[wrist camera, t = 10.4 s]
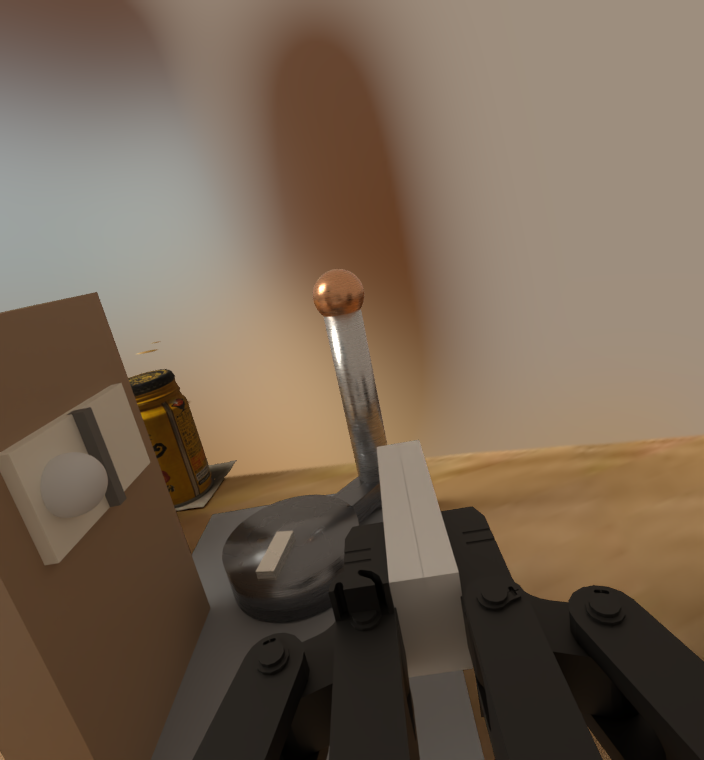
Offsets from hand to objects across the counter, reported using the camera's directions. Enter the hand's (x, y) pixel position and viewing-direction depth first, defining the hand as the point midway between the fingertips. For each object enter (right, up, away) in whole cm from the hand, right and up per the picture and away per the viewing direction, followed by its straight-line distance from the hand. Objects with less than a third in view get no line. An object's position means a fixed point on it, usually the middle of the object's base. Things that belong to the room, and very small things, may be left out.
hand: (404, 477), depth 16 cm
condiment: (-18, -7, +30) cm, 35 cm away
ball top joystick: (-4, -7, +13) cm, 16 cm away
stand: (-5, -10, +10) cm, 15 cm away
